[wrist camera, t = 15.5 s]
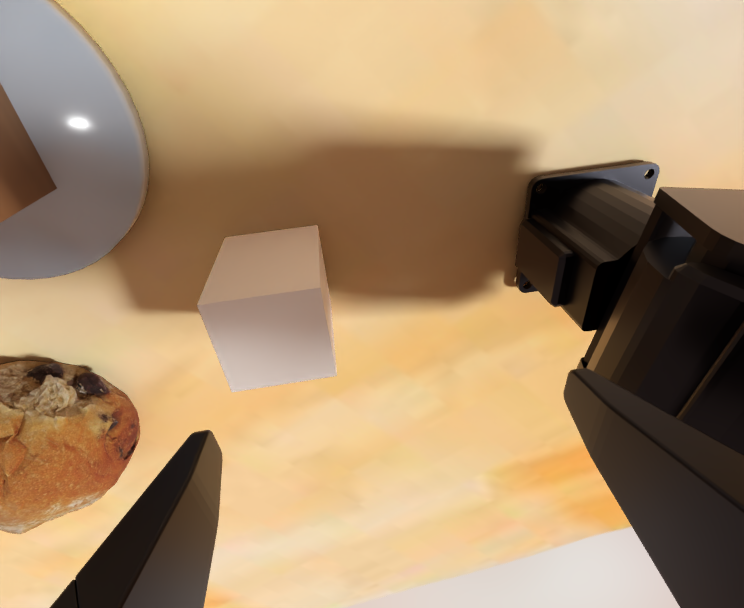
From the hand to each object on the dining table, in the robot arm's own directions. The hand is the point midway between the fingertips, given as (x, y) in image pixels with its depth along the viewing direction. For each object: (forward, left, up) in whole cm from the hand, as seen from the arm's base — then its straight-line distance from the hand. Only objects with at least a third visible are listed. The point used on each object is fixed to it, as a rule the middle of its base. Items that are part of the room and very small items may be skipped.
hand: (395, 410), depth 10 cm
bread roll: (+19, +9, -12) cm, 25 cm away
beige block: (+4, +2, -12) cm, 13 cm away
